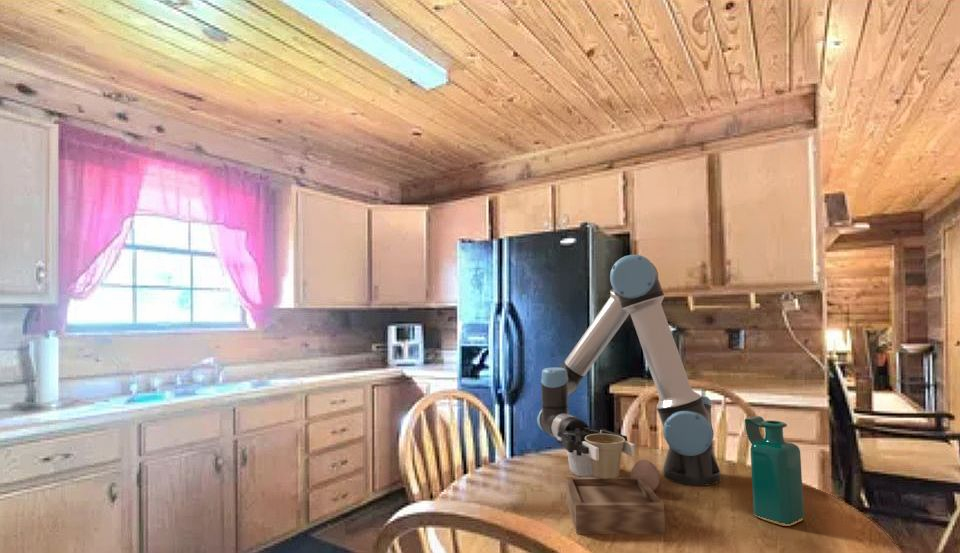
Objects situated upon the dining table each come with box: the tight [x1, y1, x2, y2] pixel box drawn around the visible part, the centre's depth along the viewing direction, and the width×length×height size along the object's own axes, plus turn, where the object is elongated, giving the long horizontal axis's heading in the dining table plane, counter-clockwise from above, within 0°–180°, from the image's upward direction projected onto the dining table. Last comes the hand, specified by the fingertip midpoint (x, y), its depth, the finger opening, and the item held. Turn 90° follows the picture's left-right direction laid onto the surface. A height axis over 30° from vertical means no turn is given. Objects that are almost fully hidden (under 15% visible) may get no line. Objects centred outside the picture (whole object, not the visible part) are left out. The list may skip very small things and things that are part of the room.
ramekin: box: [566, 450, 596, 477], centre depth 157 cm, size 13×13×7 cm
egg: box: [630, 459, 660, 492], centre depth 140 cm, size 7×7×8 cm
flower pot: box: [585, 434, 625, 479], centre depth 127 cm, size 9×9×9 cm
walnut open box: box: [565, 476, 666, 535], centre depth 124 cm, size 19×19×6 cm
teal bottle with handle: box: [744, 415, 805, 524], centre depth 122 cm, size 10×8×22 cm
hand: (615, 452), depth 122 cm, fingers closed on flower pot, 9 cm apart
